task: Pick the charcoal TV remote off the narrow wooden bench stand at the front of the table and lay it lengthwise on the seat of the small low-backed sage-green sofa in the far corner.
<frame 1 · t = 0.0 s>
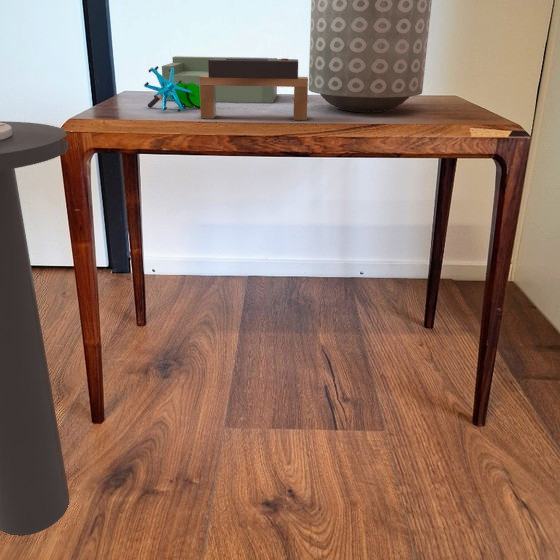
wooden bench stand: (254, 118, 91), on the table
sofa: (222, 97, 114), on the table
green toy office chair: (173, 109, 99), on the table
remote: (254, 76, 89), point 6 cm above the table, touching wooden bench stand
planter: (363, 110, 102), on the table
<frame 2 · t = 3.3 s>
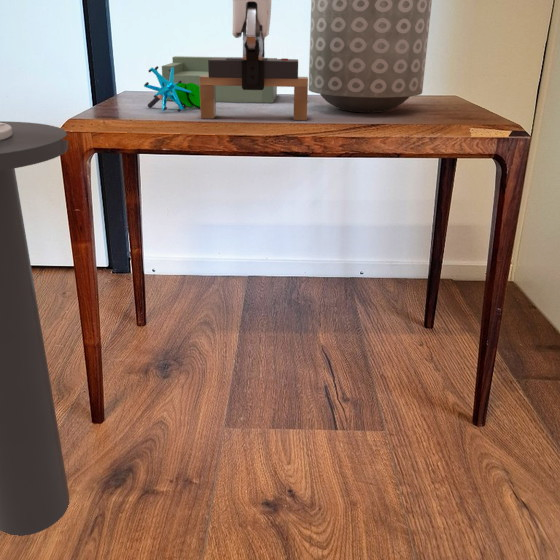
hand: (254, 86, 89), 5 cm above the table, tool pointing down, fingers closed on remote, 5 cm apart
remote: (254, 76, 89), point 6 cm above the table, touching gripper, wooden bench stand
everything else where it was.
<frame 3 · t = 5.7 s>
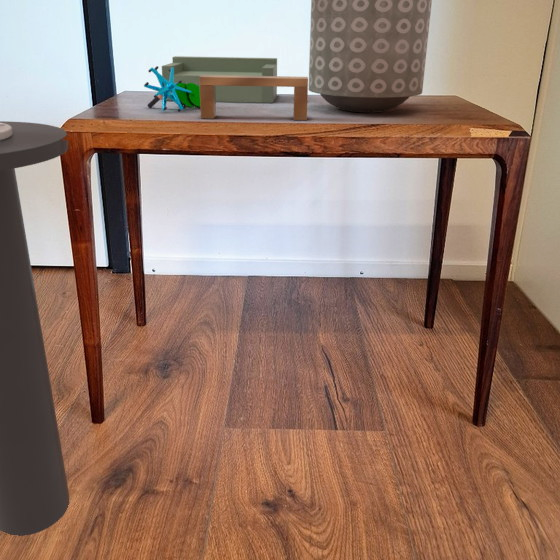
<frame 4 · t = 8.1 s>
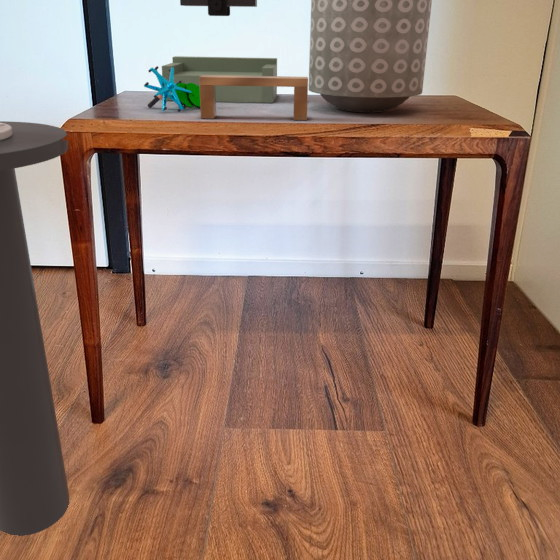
hand: (219, 14, 106), 15 cm above the table, tool pointing down, fingers closed on remote, 5 cm apart
remote: (219, 6, 105), point 16 cm above the table, touching gripper
everything else where it was.
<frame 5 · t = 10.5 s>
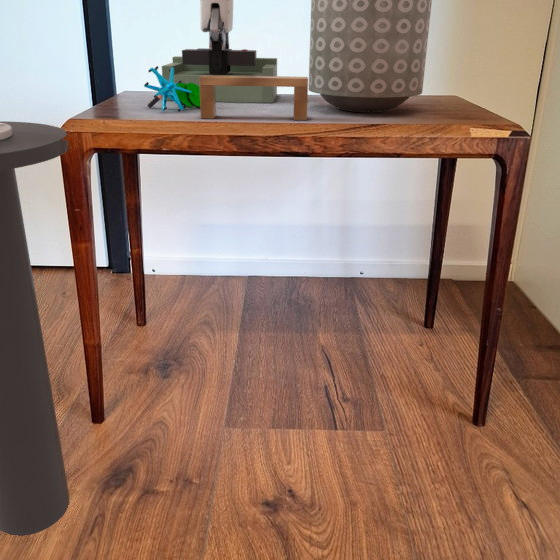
hand: (220, 72, 109), 5 cm above the table, tool pointing down, fingers closed on remote, 5 cm apart
remote: (220, 64, 109), point 6 cm above the table, touching gripper
everything else where it was.
when the fingers open (5 cm above the table, at t = 12.9 s): remote drops 2 cm, resting on sofa.
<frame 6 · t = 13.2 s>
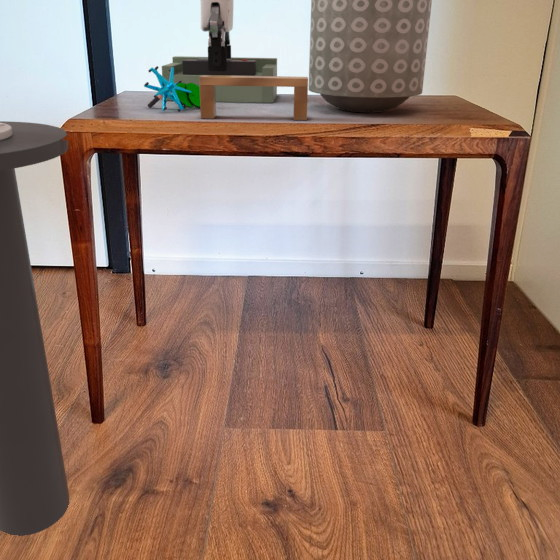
hand: (220, 68, 109), 5 cm above the table, tool pointing down, fingers open, 7 cm apart
remote: (220, 74, 109), point 4 cm above the table, touching sofa
everything else where it was.
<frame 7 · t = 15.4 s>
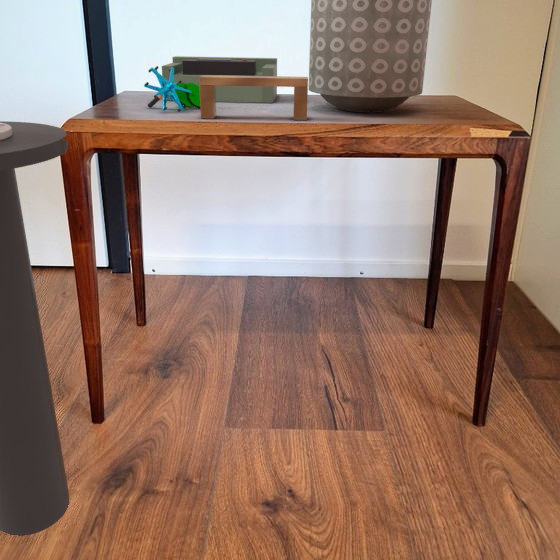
nothing on the table moved.
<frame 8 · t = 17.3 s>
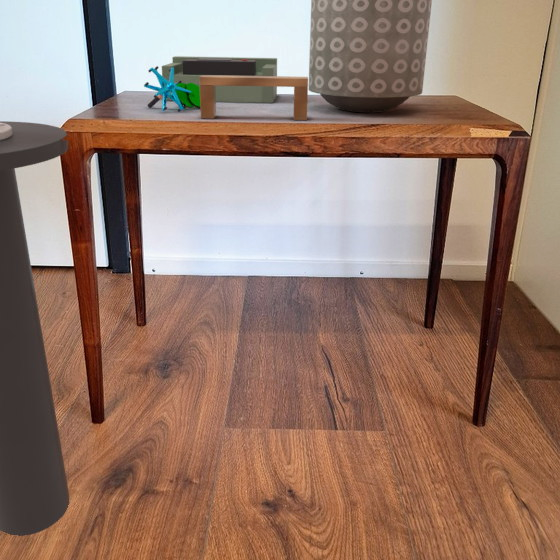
nothing on the table moved.
at the end: remote inside the target area on the sofa (0.4 cm from its centre), point 4.5 cm above the sofa's base; remote tilted 0°; the gripper is holding nothing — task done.
